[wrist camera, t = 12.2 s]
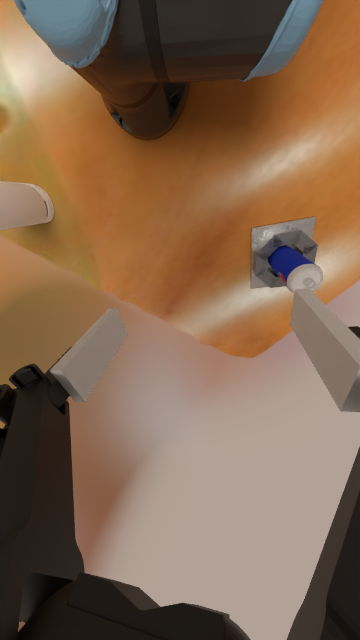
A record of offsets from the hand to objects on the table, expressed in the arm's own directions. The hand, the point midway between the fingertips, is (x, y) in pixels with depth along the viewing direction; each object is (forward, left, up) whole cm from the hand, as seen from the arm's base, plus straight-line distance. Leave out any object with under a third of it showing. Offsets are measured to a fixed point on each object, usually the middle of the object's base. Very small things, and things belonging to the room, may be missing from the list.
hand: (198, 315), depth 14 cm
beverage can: (+7, +15, -34) cm, 38 cm away
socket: (+7, +15, -35) cm, 38 cm away
